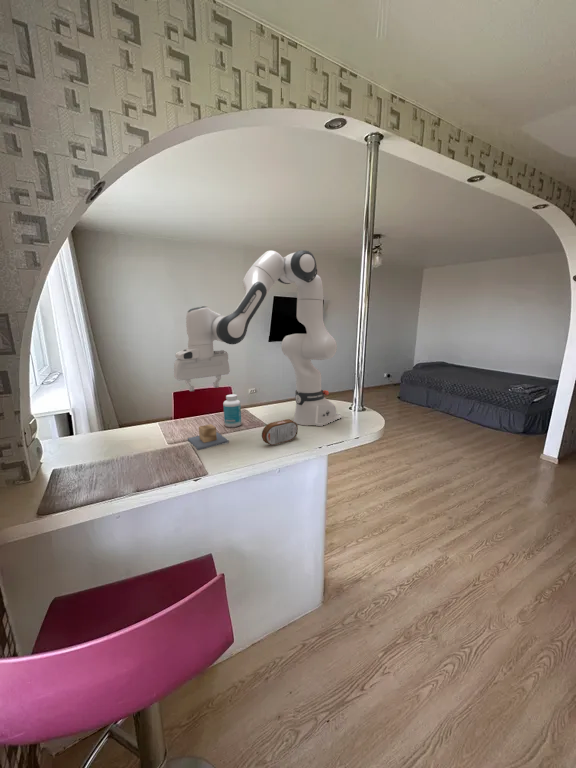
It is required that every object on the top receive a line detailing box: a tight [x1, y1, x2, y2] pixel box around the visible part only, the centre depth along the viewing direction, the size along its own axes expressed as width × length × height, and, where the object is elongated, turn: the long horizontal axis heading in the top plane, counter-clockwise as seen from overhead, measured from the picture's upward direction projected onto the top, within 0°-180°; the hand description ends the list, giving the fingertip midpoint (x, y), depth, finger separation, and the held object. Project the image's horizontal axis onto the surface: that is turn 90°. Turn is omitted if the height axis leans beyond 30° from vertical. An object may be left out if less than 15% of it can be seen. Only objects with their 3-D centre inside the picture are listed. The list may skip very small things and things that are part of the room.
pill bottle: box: [222, 393, 243, 428], centre depth 145 cm, size 8×7×14 cm
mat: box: [187, 431, 230, 451], centre depth 128 cm, size 12×12×1 cm
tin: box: [261, 418, 299, 446], centre depth 124 cm, size 15×3×8 cm, turn 124°
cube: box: [198, 423, 217, 443], centre depth 127 cm, size 5×5×5 cm
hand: (204, 388), depth 123 cm, fingers open, 8 cm apart
